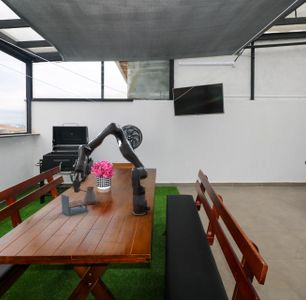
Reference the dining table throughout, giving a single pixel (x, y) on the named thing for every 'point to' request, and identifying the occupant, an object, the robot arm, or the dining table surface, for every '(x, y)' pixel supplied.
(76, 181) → the remote
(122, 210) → the dining table surface
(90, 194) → the coffee pot
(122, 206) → the dining table surface
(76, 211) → the grey u-shaped bracket
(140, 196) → the robot arm
